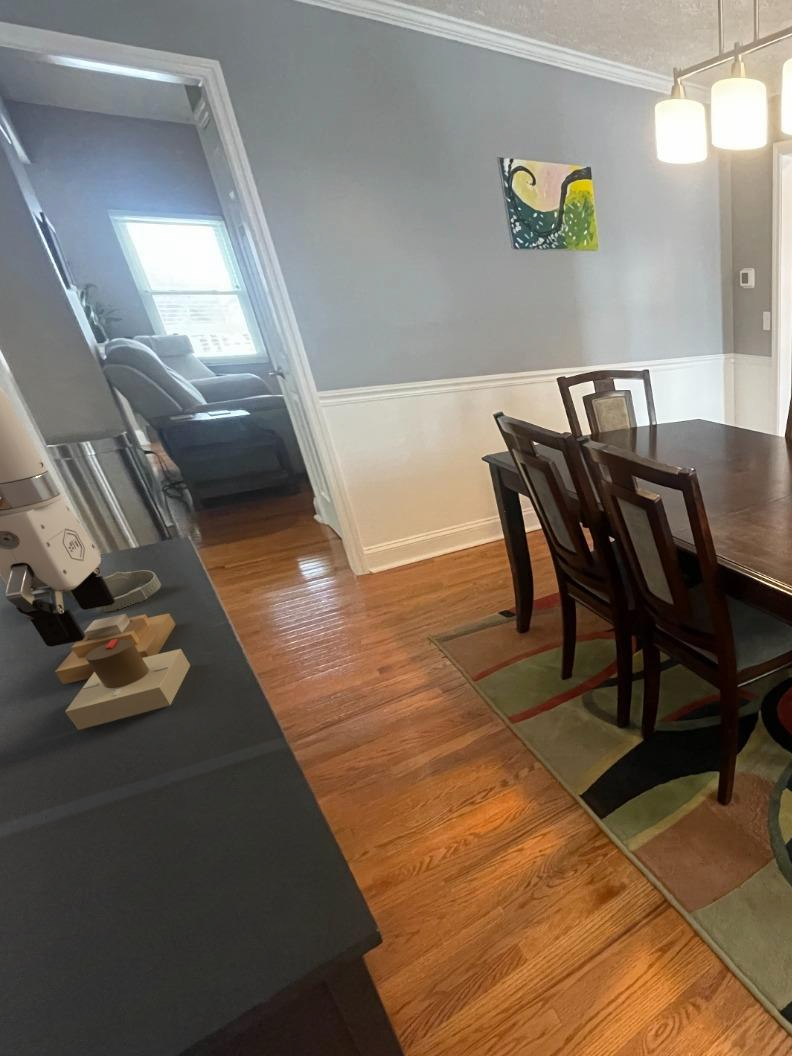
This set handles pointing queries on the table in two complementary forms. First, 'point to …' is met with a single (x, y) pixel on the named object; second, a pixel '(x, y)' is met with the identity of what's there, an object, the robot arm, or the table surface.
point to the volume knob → (117, 663)
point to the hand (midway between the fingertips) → (84, 623)
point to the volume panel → (130, 692)
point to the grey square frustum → (107, 627)
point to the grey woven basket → (130, 588)
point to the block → (141, 632)
